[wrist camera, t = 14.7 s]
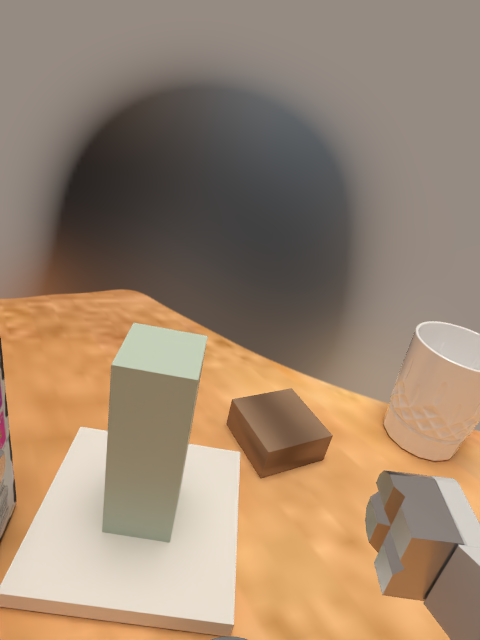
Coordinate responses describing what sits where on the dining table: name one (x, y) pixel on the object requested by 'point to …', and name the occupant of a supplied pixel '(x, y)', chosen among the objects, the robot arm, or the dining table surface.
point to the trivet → (132, 548)
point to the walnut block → (277, 431)
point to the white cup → (436, 391)
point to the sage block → (149, 429)
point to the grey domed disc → (229, 638)
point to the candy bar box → (4, 495)
